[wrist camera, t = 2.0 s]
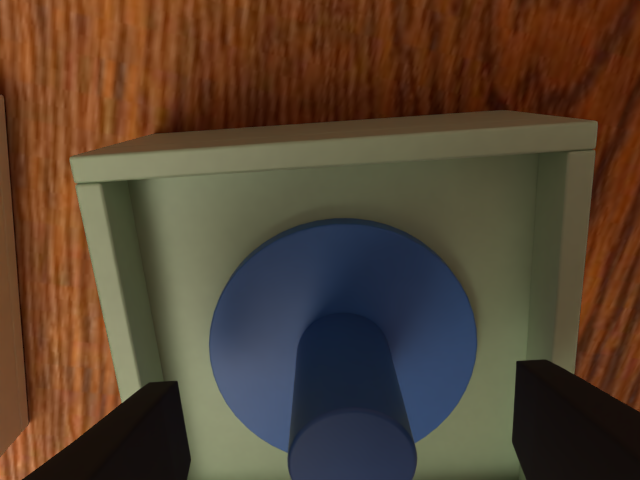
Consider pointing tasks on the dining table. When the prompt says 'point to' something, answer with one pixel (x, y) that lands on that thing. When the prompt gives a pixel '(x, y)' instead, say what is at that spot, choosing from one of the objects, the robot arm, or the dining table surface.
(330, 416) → the blue lid
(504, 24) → the dining table surface
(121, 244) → the green square tray
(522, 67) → the dining table surface
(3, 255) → the tray
